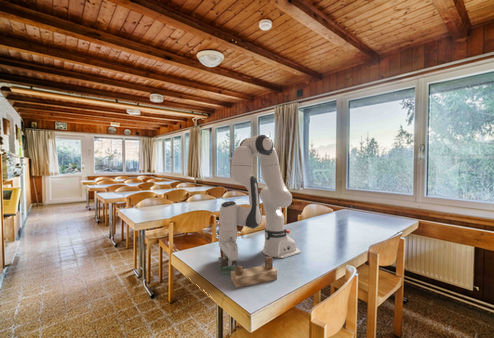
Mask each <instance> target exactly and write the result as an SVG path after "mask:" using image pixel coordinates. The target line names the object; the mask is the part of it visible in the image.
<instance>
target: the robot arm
mask: <svg viewBox="0 0 494 338" xmlns="http://www.w3.org/2000/svg"><path fill="white" fill-rule="evenodd" d="M254 157H257V158H258V159H259V164H260V165H259V166H260V171H261V177H262V181H263V182H264V183H265V184H266V187H263V188H262V189H261V190H260V191H259V184H258V180H257V177H255V175H254V172H253V159H254ZM279 160H280V159H279V157H278V153H277V151H276V148H275V147H274V142H273V140H272V138H271V137H270V136H269V135H267V134H260V135H253V136H251V137H247V138H244V139H243V140H242V141H241V142H240V144H239V145H238V146H237V147H236V148H235V149H234V151H233V156H232V161H231V168H230V169H231V171H230V174H231V177H232V179H233V180H234V181H235V182H236V183H238V184H240V185H242V186H244V187H245V188H246V189H247V192H248V203H249V207H245V206H240V205H238V204H237V203H236V202H235V201H231V200H229V201H225V202H222V203H221V204H220V208H219V216H218V218H219V219H218V220H219V230H217V235H218V237H217V238H218V246H219V249H220V248H221V250H222V251H223V255H224V256H227V257H228V261H227V264H228V266H231V265H232V261H235V260H237V261H238V259H239V248H238V247H239V246H238V243H237V239H238V226H241V227H246V228H249V229H253V230H254V229H256V228H257V227H259V226H260V225H261V223H262V220H263V217H262V215H263V214H262V211H261V205H260V204H261V203H262V205H263V210H264V214H265V228H264V244H263V248H262V254H264V255H265V256H266V257H269V256H271V257H272V258H273V257H274V258H278V259H284V258H288V257H292V256H294V255H295V256H296V255H298V254H299V255H300V253H301V251H300V249H299V248H298V247H297V245H296V241H295V240H294V239H293V238H292V237H290V236H289V234H290V233H291V231H290V230H289V229H286V228H285V215H284V213H283V212H282V208H283V209H284V208H288V207H290V206H291V204H292V202H293V195H292V193H291V192H290V191H289V190H288V187H287V185H286V184H285V182H284V179H283V176H282V172H281V167H280V161H279ZM260 200H261V203H260ZM235 240H236V242H235Z"/></svg>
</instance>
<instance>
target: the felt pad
mask: <svg viewBox="0 0 494 338" xmlns="http://www.w3.org/2000/svg"><path fill="white" fill-rule="evenodd" d="M235 267H236V265H231V266H225V267H220V266H218V268H217V269H218V270H219V273H221V275H222V276H227V275H231V271H235Z"/></svg>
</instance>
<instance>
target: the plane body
mask: <svg viewBox="0 0 494 338" xmlns="http://www.w3.org/2000/svg"><path fill="white" fill-rule="evenodd" d="M273 263H274V260H273V257H271V256H265V257H264V265H259V266H253V267H247V268H243V265H235V271H231V274H230V278H229V282H230V283H231V285H232V286H233V287H234V288H235V289H236V288H240V287H241V288H242V287H247V286H251V285H255V284H256V285H257V284H259V283H265V282H270V281H274V280H278V270H277V269H276V268H275V267H274V266H273Z"/></svg>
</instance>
